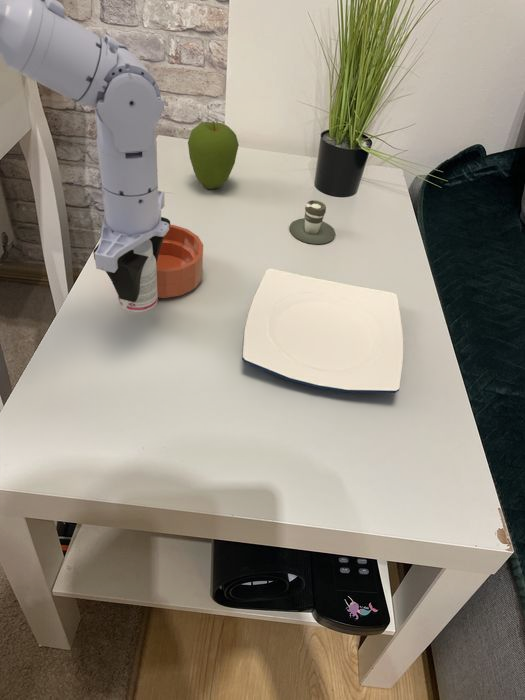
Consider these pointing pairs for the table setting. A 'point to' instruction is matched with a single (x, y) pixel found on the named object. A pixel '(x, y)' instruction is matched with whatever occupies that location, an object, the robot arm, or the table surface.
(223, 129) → the apple
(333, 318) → the plate
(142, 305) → the pill bottle
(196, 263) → the bowl
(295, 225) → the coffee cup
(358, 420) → the table surface
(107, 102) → the robot arm
